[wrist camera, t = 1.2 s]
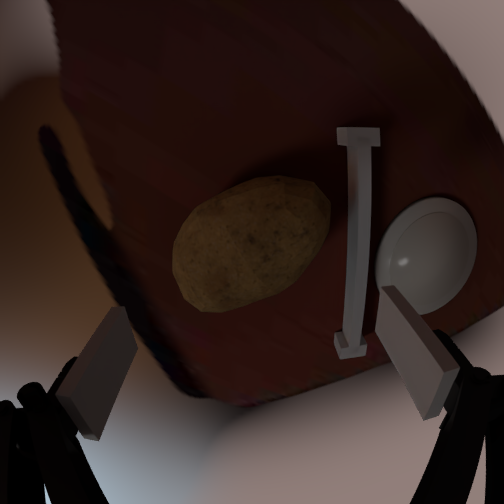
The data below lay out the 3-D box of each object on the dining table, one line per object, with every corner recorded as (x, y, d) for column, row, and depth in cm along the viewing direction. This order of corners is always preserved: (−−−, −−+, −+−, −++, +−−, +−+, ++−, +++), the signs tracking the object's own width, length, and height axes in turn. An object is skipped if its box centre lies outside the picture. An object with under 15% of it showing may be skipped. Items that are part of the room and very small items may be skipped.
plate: (377, 197, 28) (381, 200, 27) (479, 196, 28) (484, 198, 27) (368, 319, 33) (371, 324, 32) (461, 302, 33) (465, 306, 32)
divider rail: (336, 127, 26) (346, 127, 23) (366, 128, 26) (379, 128, 23) (333, 343, 34) (339, 359, 32) (357, 339, 34) (365, 355, 31)
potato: (339, 227, 29) (367, 259, 22) (221, 300, 32) (214, 349, 25) (285, 140, 26) (299, 143, 19) (161, 227, 29) (134, 259, 22)
